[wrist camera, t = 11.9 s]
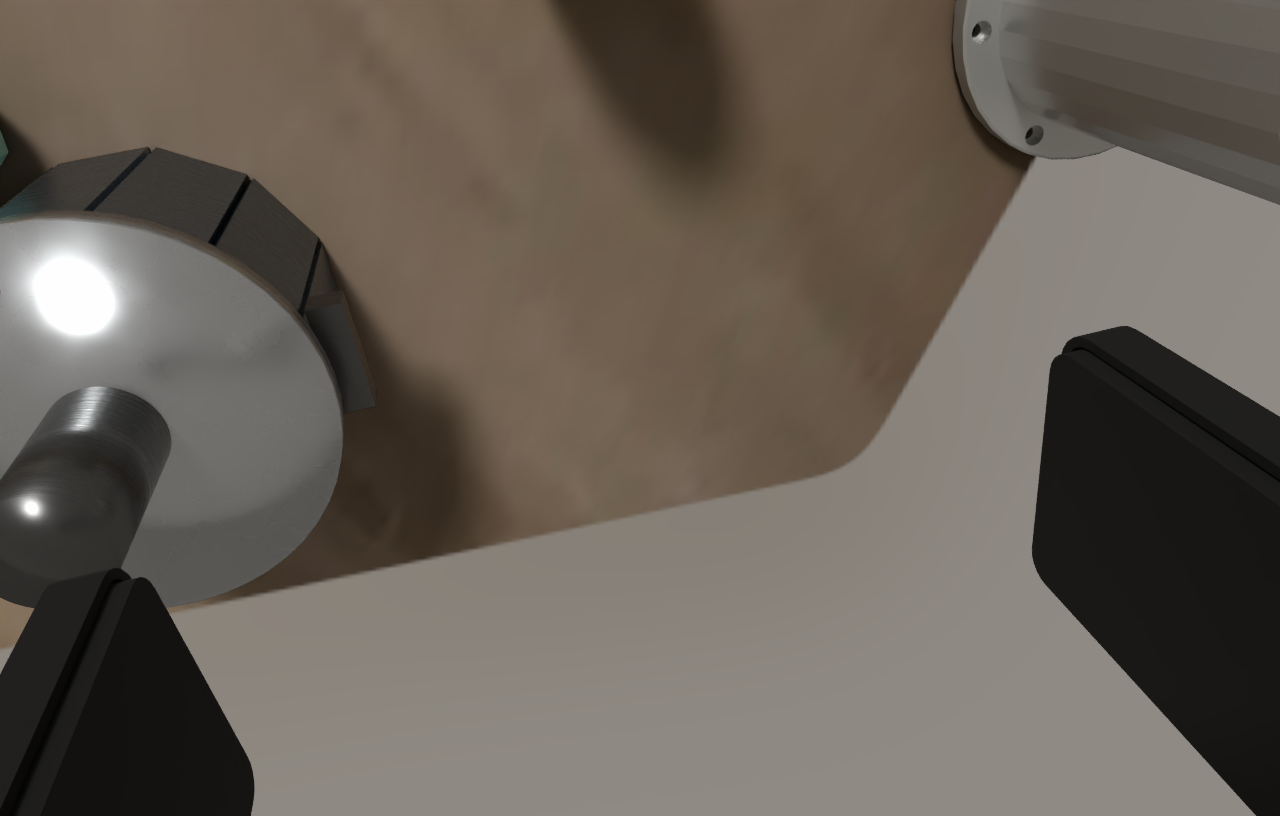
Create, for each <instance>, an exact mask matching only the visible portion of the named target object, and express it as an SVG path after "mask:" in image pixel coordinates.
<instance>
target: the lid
mask: <svg viewBox="0 0 1280 816" xmlns="http://www.w3.org/2000/svg"><path fill="white" fill-rule="evenodd" d="M343 438H344V416H343V407H342V399H341V394H340V391H339V387H338V384H337V380H336V376H335V373H334V371H333V368H332V366H331V364H330V362H329V359H328V357H327V355H326V353H325V350H324V349H323V347H322V345H321V344H320V342H319V340H318V339H317V337H316V336H315V334H314V332H313V331H312V329H311V328H310V326H309V325H308V323H307V322H306V321H305V320H304V319H303V317H302V316H301V315H300V314H299V312H298V311H297V310H296V309H295V308H294V306H293V305H292V304H291V303H290V302H289V301H288V300H287V299H286V298H285V297H284V296H283V295H282V294H281V293H280V292H279V291H278V290H277V289H276V288H274V287H273V286H272V285H271V284H270V283H269V282H268V281H267V280H265V279H264V278H263V277H261V276H260V275H259V274H257V273H256V272H255V271H253V270H252V269H251V268H249V267H248V266H247V265H245V264H244V263H242V262H241V261H239V260H237V259H236V258H234V257H232V256H231V255H229V254H227V253H226V252H224V251H222V250H221V249H219V248H217V247H215V246H213V245H211V244H209V243H207V242H205V241H202V240H200V239H198V238H196V237H194V236H191V235H189V234H187V233H185V232H182V231H179V230H176V229H173V228H170V227H167V226H164V225H161V224H158V223H155V222H152V221H147V220H143V219H138V218H133V217H129V216H124V215H119V214H113V213H103V212H93V211H83V210H59V211H39V212H31V213H24V214H16V215H10V216H6V217H2V218H0V598H2V599H5V600H7V601H9V602H12V603H15V604H18V605H22V606H25V607H31V608H35V607H36V605H37V603H38V601H39V599H40V597H41V595H42V593H43V592H44V591H45V589H46V588H47V587H48V585H50V584H52V583H54V582H57V581H61V580H65V579H69V578H73V577H77V576H82V575H86V574H90V573H94V572H98V571H103V570H107V569H111V568H120V569H123V570H124V571H125V572H126V573H128V574H129V575H130V577H131V578H132V579H134V578H138V577H144V578H146V579H148V580H149V581H150V582H151V583H152V585H153V586H154V588H155V589H156V591H157V593H158V595H159V596H160V598H161V600H162V602H163V604H164V606H165V607H166V608H169V607H174V606H179V605H184V604H189V603H194V602H198V601H201V600H205V599H208V598H211V597H215V596H218V595H221V594H223V593H226V592H228V591H231V590H233V589H235V588H238V587H240V586H242V585H245V584H247V583H248V582H250V581H252V580H254V579H255V578H257V577H259V576H261V575H262V574H264V573H266V572H268V571H269V570H270V569H272V568H273V567H274V566H276V565H277V564H278V563H280V562H281V561H282V560H284V559H285V558H286V557H287V556H289V555H290V554H291V553H292V552H293V551H294V550H295V549H296V548H297V547H298V546H299V545H300V544H301V543H302V542H303V541H304V540H305V538H306V537H307V536H308V535H309V533H310V532H311V531H312V529H313V528H314V527H315V526H316V524H317V523H318V521H319V520H320V518H321V516H322V514H323V513H324V511H325V509H326V507H327V505H328V504H329V501H330V499H331V496H332V493H333V491H334V488H335V485H336V483H337V479H338V474H339V469H340V464H341V458H342V450H343Z"/></svg>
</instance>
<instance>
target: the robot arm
mask: <svg viewBox="0 0 1280 816" xmlns="http://www.w3.org/2000/svg"><path fill="white" fill-rule="evenodd" d="M974 27H975V31H974V33H973V34H972V31H973V28H974ZM953 50H954V60H955V69H956V73H957V76H958V80H959V83H960V86H961V90H962V93H963V96H964V97H965V99H966V101H967V103H968V105H969V107H970V108H971V110H972V112H973V114H974V116H975V117H976V118H977V119H978V120H979V121H980V123H981V124H982V125H983V126H984V127H985V128H986V129H987V130H988V131H989V133H990V134H992V135H993V136H995V137H996V138H998V139H999V140H1001V141H1002V142H1004V143H1005V144H1007V145H1008V146H1010V147H1013V148H1015V149H1017V150H1020V151H1022V152H1024V153H1027V154H1030V155H1034V156H1039V157H1043V158H1048V159H1077V158H1082V157H1086V156H1091V155H1096V154H1099V153H1102V152H1104V151H1107V150H1109V149H1111V148H1114V147H1116V146H1119V147H1122V148H1125V149H1127V150H1130V151H1133V152H1136V153H1139V154H1141V155H1144V156H1147V157H1149V158H1152V159H1155V160H1158V161H1161V162H1163V163H1166V164H1169V165H1171V166H1174V167H1177V168H1180V169H1182V170H1185V171H1188V172H1190V173H1193V174H1196V175H1199V176H1201V177H1204V178H1207V179H1210V180H1212V181H1216V182H1218V183H1221V184H1224V185H1226V186H1229V187H1232V188H1235V189H1238V190H1240V191H1243V192H1245V193H1248V194H1251V195H1254V196H1257V197H1259V198H1262V199H1265V200H1267V201H1270V202H1273V203H1276V204H1279V205H1280V0H957V2H956V7H955V14H954V28H953ZM1032 557H1033V561H1034V565H1035V568H1036V570H1037V572H1038V574H1039V576H1040V578H1041V579H1042V581H1043V582H1044V583H1045V584H1046V586H1047V587H1048V588H1049V589H1050V590H1051V591H1052V592H1053V593H1054V594H1055V596H1056V597H1058V599H1059V600H1060V601H1061V602H1062V603H1063V604H1064V605H1065V606H1066V608H1068V610H1069V611H1070V612H1071V613H1072V614H1073V615H1074V616H1075V617H1076V619H1077V620H1079V622H1080V623H1081V624H1082V625H1083V626H1084V627H1085V628H1086V630H1088V632H1089V633H1090V634H1091V635H1092V636H1093V637H1094V638H1095V639H1096V640H1097V642H1098V643H1099V644H1100V645H1101V646H1102V647H1103V648H1104V649H1105V650H1106V651H1107V652H1108V654H1109V655H1110V656H1111V657H1112V658H1113V659H1114V660H1115V661H1116V662H1117V664H1119V666H1120V667H1121V668H1122V669H1123V670H1124V671H1125V672H1126V673H1127V675H1129V677H1130V678H1131V679H1132V680H1133V681H1134V682H1135V683H1136V684H1137V685H1138V686H1139V687H1140V689H1141V690H1142V691H1143V692H1144V693H1145V694H1146V695H1147V696H1148V698H1149V699H1151V701H1152V702H1153V703H1154V704H1155V705H1156V706H1157V707H1158V708H1159V710H1160V711H1161V712H1162V713H1163V714H1164V715H1165V716H1166V717H1167V718H1168V719H1169V720H1170V722H1171V723H1172V724H1173V725H1174V726H1175V727H1176V728H1177V729H1178V730H1179V731H1180V733H1181V734H1182V735H1183V736H1184V737H1185V738H1186V739H1187V740H1188V741H1189V743H1190V744H1191V745H1192V746H1193V747H1194V748H1195V749H1196V750H1197V751H1198V752H1199V753H1200V755H1202V757H1203V758H1204V759H1205V760H1206V761H1207V762H1208V763H1209V764H1210V766H1211V767H1212V768H1213V769H1214V770H1215V771H1216V772H1217V773H1218V774H1219V775H1220V776H1221V778H1222V779H1223V780H1224V781H1225V782H1226V783H1227V784H1228V785H1229V786H1230V787H1231V789H1233V791H1234V792H1235V793H1236V794H1237V795H1238V796H1239V797H1240V798H1241V800H1242V801H1243V802H1244V803H1245V804H1246V805H1247V806H1248V807H1249V808H1250V809H1251V811H1253V813H1254V814H1255V815H1256V816H1280V417H1279V416H1278V415H1276V414H1274V413H1273V412H1271V411H1269V410H1268V409H1266V408H1264V407H1263V406H1261V405H1259V404H1258V403H1256V402H1255V401H1253V400H1251V399H1250V398H1248V397H1246V396H1245V395H1243V394H1241V393H1240V392H1238V391H1237V390H1235V389H1233V388H1232V387H1230V386H1228V385H1227V384H1225V383H1223V382H1222V381H1220V380H1218V379H1217V378H1215V377H1213V376H1212V375H1210V374H1208V373H1207V372H1205V371H1204V370H1202V369H1200V368H1198V367H1197V366H1195V365H1194V364H1192V363H1190V362H1189V361H1187V360H1186V359H1184V358H1182V357H1181V356H1179V355H1177V354H1176V353H1174V352H1172V351H1171V350H1169V349H1167V348H1166V347H1164V346H1162V345H1161V344H1159V343H1158V342H1156V341H1154V340H1153V339H1151V338H1149V337H1148V336H1146V335H1144V334H1143V333H1141V332H1139V331H1138V330H1136V329H1133V328H1131V327H1129V326H1120V327H1116V328H1111V329H1107V330H1103V331H1099V332H1095V333H1090V334H1086V335H1082V336H1078V337H1074V338H1072V339H1071V340H1069V341H1068V342H1067V343H1066V345H1065V346H1064V348H1063V351H1062V354H1061V355H1058V356H1057V357H1055V358H1054V360H1053V362H1052V363H1051V368H1050V374H1049V384H1048V394H1047V404H1046V414H1045V424H1044V434H1043V444H1042V454H1041V464H1040V474H1039V484H1038V493H1037V503H1036V514H1035V523H1034V534H1033V543H1032ZM253 800H254V778H253V771H252V767H251V764H250V761H249V759H248V757H247V755H246V753H245V751H244V749H243V747H242V746H241V744H240V742H239V740H238V739H237V737H236V735H235V733H234V732H233V730H232V727H231V726H230V724H229V722H228V720H227V719H226V717H225V715H224V713H223V711H222V709H221V707H220V706H219V704H218V702H217V700H216V698H215V697H214V695H213V693H212V691H211V689H210V688H209V686H208V684H207V682H206V680H205V678H204V676H203V675H202V673H201V671H200V669H199V667H198V666H197V664H196V662H195V660H194V658H193V656H192V655H191V653H190V651H189V649H188V647H187V646H186V644H185V642H184V641H183V638H182V636H181V635H180V633H179V631H178V629H177V628H176V626H175V624H174V622H173V620H172V618H171V616H170V615H169V613H168V611H167V609H166V607H165V606H164V604H163V602H162V600H161V598H160V596H159V595H158V593H157V591H156V589H155V588H154V586H153V585H152V583H151V582H150V581H149V580H148V579H146V578H144V577H138V578H134V579H132V578H131V577H130V575H129V574H128V573H126V572H125V571H124V570H123V569H120V568H111V569H107V570H103V571H98V572H94V573H90V574H86V575H82V576H77V577H73V578H69V579H65V580H61V581H57V582H54V583H52V584H50V585H48V587H47V588H46V589H45V591H44V592H43V593H42V595H41V597H40V599H39V601H38V603H37V605H36V607H35V609H34V611H33V613H32V614H31V616H30V618H29V620H28V622H27V624H26V626H25V628H24V630H23V632H22V634H21V635H20V637H19V639H18V641H17V643H16V645H15V647H14V649H13V651H12V653H11V655H10V657H9V659H8V661H7V662H6V664H5V666H4V668H3V670H2V672H1V674H0V816H251V811H252V805H253Z"/></svg>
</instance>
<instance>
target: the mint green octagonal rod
mask: <svg viewBox="0 0 1280 816" xmlns="http://www.w3.org/2000/svg"><path fill="white" fill-rule="evenodd" d="M7 154H8V149H7V147H6V144H5V141H4V139H3V136H2V133H1V131H0V166H1V164H2V163H3V161H4V159H5V158H6V156H7Z"/></svg>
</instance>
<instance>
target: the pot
mask: <svg viewBox="0 0 1280 816" xmlns="http://www.w3.org/2000/svg"><path fill="white" fill-rule="evenodd" d="M246 177H247V174H244V173H240V172H237V171H234V170H230V169H227V168H224V167H220V166H217V165H214V164H210V163H207V162H203V161H200V160H197V159H193V158H190V157H187V156H183V155H180V154H177V153H173V152H170V151H167V150H163V149H160V148H155V149H154V150H153V151H152V152H151V153H150V151H149V148H148V147H145V148H140V149H134V150H129V151H124V152H119V153H113V154H108V155H103V156H98V157H93V158H87V159H82V160H77V161H72V162H66V163H61V164H58V165H57V166H55V167H54V168H51V169H49V170H48V171H47V172H45V173H44V174H43V175H42V176H40V177H39V178H38V179H36V180H35V181H34V182H33V183H31V184H30V185H29V186H27V187H26V188H25V189H23V190H22V191H21V192H20V193H18V194H17V195H16V196H14V197H13V198H12V199H11V200H9V201H8V202H7V203H5V204H4V205H3V206H2V207H0V218H2V217H6V216H10V215H16V214H24V213H31V212H39V211H59V210H83V211H93V212H103V213H113V214H119V215H124V216H129V217H133V218H138V219H143V220H147V221H152V222H155V223H158V224H161V225H164V226H167V227H170V228H173V229H176V230H179V231H182V232H185V233H187V234H189V235H191V236H194V237H196V238H198V239H200V240H202V241H205V242H207V243H209V244H211V245H213V246H215V247H217V248H219V249H221V250H222V251H224V252H226V253H227V254H229V255H231V256H232V257H234V258H236V259H237V260H239V261H241V262H242V263H244V264H245V265H247V266H248V267H249V268H251V269H252V270H253V271H255V272H256V273H257V274H259V275H260V276H261V277H263V278H264V279H265V280H267V281H268V282H269V283H270V284H271V285H272V286H273V287H274V288H276V289H277V290H278V291H279V292H280V293H281V294H282V295H283V296H284V297H285V298H286V299H287V300H288V301H289V302H290V303H291V304H292V305H293V306H294V308H295V309H296V310H297V311H298V312H299V314H300V315H301V316H302V317H303V319H304V320H305V321H306V322H307V323H308V325H309V326H310V328H311V329H312V331H313V332H314V334H315V336H316V337H317V339H318V340H319V342H320V344H321V345H322V347H323V349H324V350H325V353H326V355H327V357H328V359H329V362H330V364H331V366H332V368H333V371H334V373H335V376H336V380H337V384H338V387H339V391H340V394H341V399H342V407H343V414H344V413H348V412H353V411H357V410H361V409H366V408H370V407H375V406H376V395H377V389H376V386H375V383H374V380H373V377H372V374H371V371H370V369H369V366H368V363H367V360H366V357H365V354H364V351H363V348H362V345H361V342H360V339H359V336H358V333H357V330H356V327H355V324H354V321H353V318H352V315H351V312H350V309H349V306H348V303H347V300H346V297H345V294H344V291H343V290H340V291H338V288H337V285H336V282H335V279H334V276H333V273H332V270H331V268H330V265H329V262H328V259H327V256H326V253H325V250H324V247H323V244H322V243H321V244H317V241H318V237H317V236H316V235H315V234H314V233H313V232H312V231H311V230H310V229H309V228H308V227H307V226H305V225H304V224H303V223H302V222H301V221H300V220H299V219H298V218H297V217H296V216H294V215H293V214H292V213H291V212H290V211H289V210H288V209H287V208H286V207H285V206H284V205H282V204H281V203H280V202H279V201H278V200H277V199H276V198H275V197H274V196H273V195H272V194H270V193H269V192H268V191H267V190H266V189H265V188H264V187H263V186H262V185H261V184H259V183H258V182H257V181H256V180H255V179H253V180H252V181H251V182H249V183H248V184H247V185H246V186H245V181H246ZM244 186H245V187H244Z"/></svg>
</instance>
